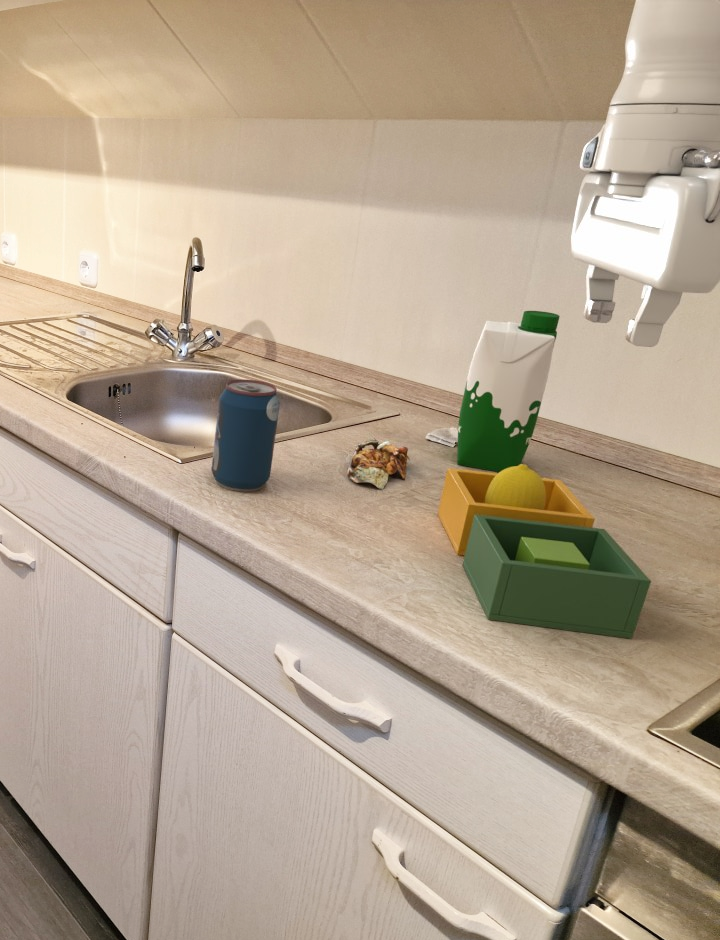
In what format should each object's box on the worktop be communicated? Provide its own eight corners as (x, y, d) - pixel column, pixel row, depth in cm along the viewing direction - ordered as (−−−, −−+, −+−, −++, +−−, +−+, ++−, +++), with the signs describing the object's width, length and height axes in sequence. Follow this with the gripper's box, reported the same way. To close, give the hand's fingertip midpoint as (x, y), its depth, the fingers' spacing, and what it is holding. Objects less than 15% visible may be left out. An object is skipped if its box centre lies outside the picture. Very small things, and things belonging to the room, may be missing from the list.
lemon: (478, 520, 93) (495, 451, 90) (534, 531, 91) (553, 461, 88) (476, 539, 89) (493, 467, 86) (535, 551, 86) (555, 478, 83)
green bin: (588, 581, 82) (604, 528, 80) (632, 639, 72) (651, 581, 70) (461, 565, 84) (474, 513, 82) (487, 619, 74) (502, 562, 72)
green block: (560, 585, 80) (573, 542, 78) (576, 609, 76) (590, 564, 74) (509, 579, 80) (520, 536, 79) (522, 602, 76) (535, 557, 75)
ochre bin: (547, 526, 94) (560, 479, 92) (580, 570, 84) (595, 518, 82) (437, 513, 96) (447, 467, 94) (457, 555, 86) (468, 504, 84)
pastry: (341, 482, 104) (345, 455, 102) (354, 453, 114) (358, 428, 113) (401, 494, 101) (407, 466, 100) (409, 463, 111) (414, 437, 110)
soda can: (280, 487, 101) (294, 389, 97) (238, 498, 98) (251, 397, 93) (239, 468, 107) (251, 375, 102) (198, 478, 103) (208, 381, 98)
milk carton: (524, 479, 108) (564, 321, 100) (448, 465, 111) (481, 312, 104) (523, 458, 115) (561, 310, 108) (452, 446, 119) (484, 302, 111)
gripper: (791, 152, 54) (722, 365, 59) (655, 150, 73) (612, 312, 78) (682, 148, 55) (623, 358, 60) (576, 147, 74) (538, 308, 79)
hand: (616, 332), depth 69 cm, fingers open, 8 cm apart
